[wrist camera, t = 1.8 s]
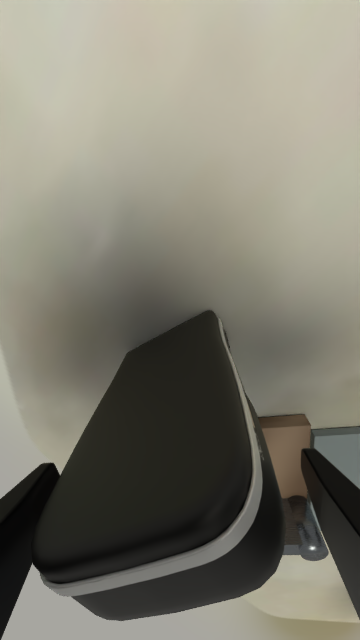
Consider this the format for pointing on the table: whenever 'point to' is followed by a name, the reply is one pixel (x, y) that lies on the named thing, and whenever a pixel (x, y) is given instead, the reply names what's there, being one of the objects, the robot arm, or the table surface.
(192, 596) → the battery charger
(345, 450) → the end mat
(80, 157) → the table surface
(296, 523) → the bent rail
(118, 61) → the table surface
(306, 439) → the rail board
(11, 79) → the table surface
